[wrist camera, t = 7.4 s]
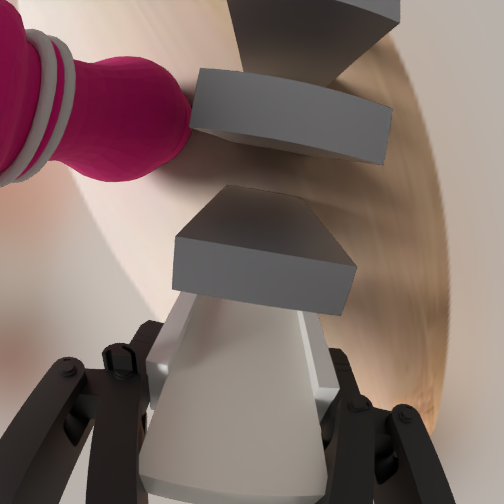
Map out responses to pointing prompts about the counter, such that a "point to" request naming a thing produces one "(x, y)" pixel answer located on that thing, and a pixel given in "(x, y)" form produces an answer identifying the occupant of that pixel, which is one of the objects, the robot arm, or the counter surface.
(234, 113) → the domino
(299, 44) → the domino
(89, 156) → the pepper mill
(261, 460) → the white domino
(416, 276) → the counter surface
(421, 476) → the robot arm
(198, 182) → the counter surface
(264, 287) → the domino
